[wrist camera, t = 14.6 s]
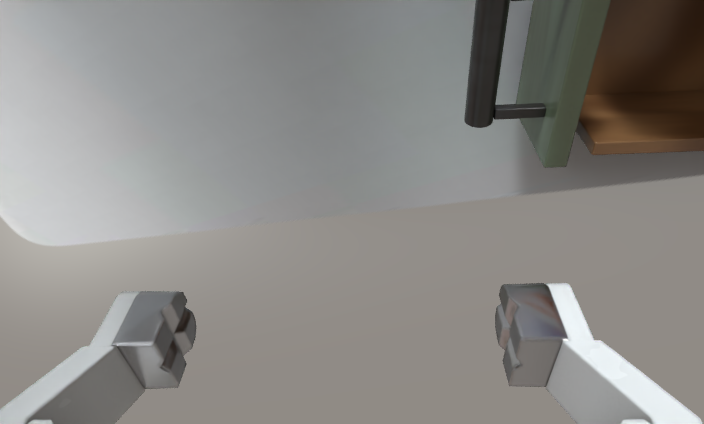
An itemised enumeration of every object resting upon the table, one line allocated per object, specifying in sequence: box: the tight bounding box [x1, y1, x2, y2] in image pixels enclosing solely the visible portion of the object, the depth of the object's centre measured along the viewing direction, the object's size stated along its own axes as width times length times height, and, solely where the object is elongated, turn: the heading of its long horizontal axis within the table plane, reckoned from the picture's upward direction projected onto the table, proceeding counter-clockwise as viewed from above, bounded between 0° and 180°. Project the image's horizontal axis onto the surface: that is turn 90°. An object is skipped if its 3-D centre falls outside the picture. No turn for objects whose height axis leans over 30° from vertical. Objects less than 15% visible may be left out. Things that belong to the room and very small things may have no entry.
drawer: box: [464, 0, 704, 168], centre depth 24 cm, size 18×11×7 cm, turn 94°
